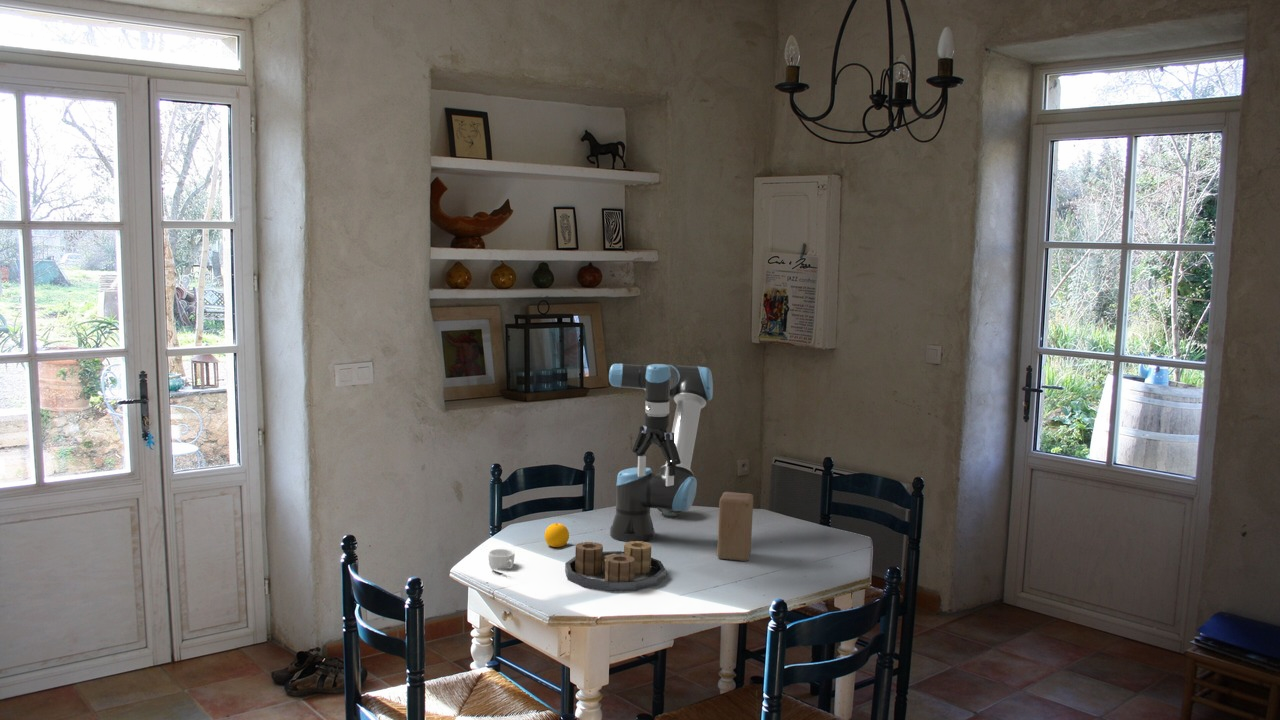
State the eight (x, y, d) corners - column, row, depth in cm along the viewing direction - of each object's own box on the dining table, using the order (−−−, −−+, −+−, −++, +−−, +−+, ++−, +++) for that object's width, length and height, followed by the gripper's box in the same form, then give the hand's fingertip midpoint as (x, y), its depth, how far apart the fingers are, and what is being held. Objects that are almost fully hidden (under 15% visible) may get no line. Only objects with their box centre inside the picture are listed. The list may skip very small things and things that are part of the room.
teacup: (483, 568, 297) (483, 551, 296) (505, 564, 302) (505, 547, 301) (500, 578, 289) (501, 560, 289) (523, 573, 294) (523, 555, 294)
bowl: (649, 518, 360) (649, 496, 359) (654, 509, 373) (655, 488, 372) (686, 521, 358) (687, 499, 357) (690, 511, 371) (691, 491, 370)
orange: (553, 550, 317) (554, 528, 316) (539, 544, 323) (540, 522, 322) (573, 546, 322) (574, 524, 322) (559, 540, 328) (559, 518, 327)
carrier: (546, 575, 293) (547, 548, 292) (622, 558, 312) (623, 533, 311) (606, 603, 271) (607, 575, 270) (684, 583, 290) (685, 557, 289)
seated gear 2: (600, 585, 281) (601, 560, 280) (613, 577, 288) (613, 552, 287) (625, 590, 278) (626, 564, 277) (637, 582, 285) (638, 557, 284)
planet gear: (618, 568, 297) (619, 543, 296) (638, 563, 302) (639, 539, 301) (635, 575, 291) (636, 550, 290) (655, 570, 296) (656, 546, 295)
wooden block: (748, 562, 312) (750, 500, 310) (716, 559, 314) (719, 498, 312) (750, 553, 322) (753, 493, 319) (720, 550, 324) (723, 490, 321)
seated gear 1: (569, 570, 294) (570, 545, 293) (587, 564, 300) (588, 540, 299) (589, 576, 288) (589, 551, 288) (607, 570, 295) (608, 546, 294)
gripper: (622, 408, 313) (621, 473, 316) (674, 422, 294) (672, 491, 297) (640, 406, 317) (639, 470, 321) (693, 419, 299) (691, 487, 302)
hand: (655, 480), depth 309 cm, fingers open, 13 cm apart
